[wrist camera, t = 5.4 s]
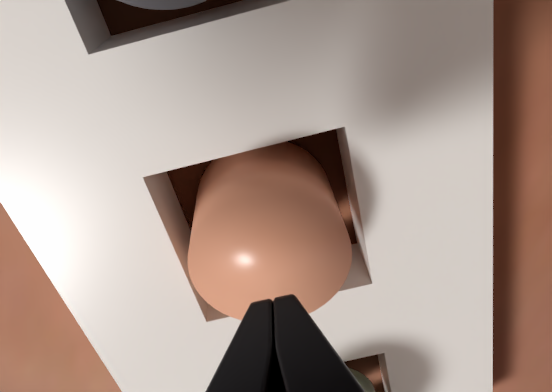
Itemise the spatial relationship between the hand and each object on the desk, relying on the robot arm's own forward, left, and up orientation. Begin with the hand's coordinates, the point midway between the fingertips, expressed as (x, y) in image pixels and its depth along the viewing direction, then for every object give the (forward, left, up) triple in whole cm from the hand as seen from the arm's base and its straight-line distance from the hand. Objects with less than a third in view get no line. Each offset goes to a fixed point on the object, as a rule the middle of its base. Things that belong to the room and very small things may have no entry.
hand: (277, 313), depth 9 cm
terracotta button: (0, +1, -5) cm, 5 cm away
